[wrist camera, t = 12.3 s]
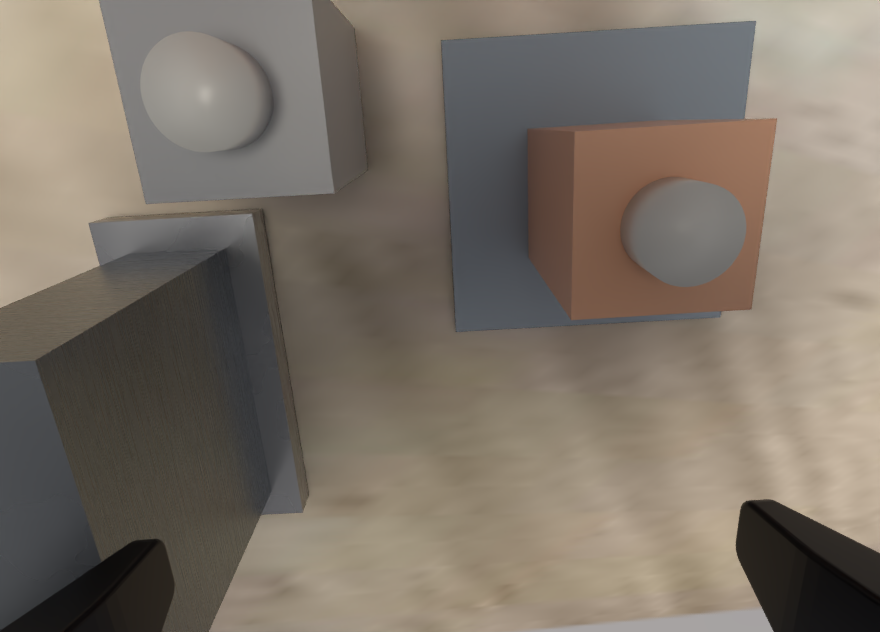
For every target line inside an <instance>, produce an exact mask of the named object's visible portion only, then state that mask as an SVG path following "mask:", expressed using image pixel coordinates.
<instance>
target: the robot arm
mask: <svg viewBox="0 0 880 632" xmlns="http://www.w3.org/2000/svg"><path fill="white" fill-rule="evenodd" d="M736 552H737V556H738V559H739V561H740V563H741V566H742V568H743V570H744V572H745V574H746V576H747V578H748V580H749V582H750V584H751V586H752V588H753V590H754V592H755V594H756V596H757V598H758V601H759V603H760V605H761V607H762V609H763V611H764V613H765V615H766V617H767V619H768V621H769V623H770V625H771V627H772V629H773V631H774V632H880V553H878V552H876V551H874V550H872V549H870V548H868V547H866V546H864V545H862V544H860V543H858V542H856V541H854V540H852V539H850V538H848V537H846V536H844V535H842V534H840V533H838V532H836V531H834V530H832V529H830V528H828V527H826V526H824V525H822V524H820V523H818V522H816V521H814V520H812V519H810V518H808V517H806V516H804V515H802V514H800V513H798V512H796V511H794V510H792V509H790V508H788V507H786V506H784V505H782V504H780V503H778V502H776V501H774V500H769V499H764V500H749V501H746V502H744V503H743V504H742V506H741V510H740V516H739V523H738V530H737V537H736ZM174 591H175V580H174V576H173V572H172V568H171V564H170V561H169V557H168V553H167V549H166V546H165V544H164V542H163V541H162V540H160V539H143V540H135V541H132V542H130V543H129V544H127V545H126V546H124V547H123V548H121V549H120V550H118V551H117V552H115V553H114V554H112V555H111V556H109V557H108V558H106V559H105V560H103V561H102V562H101V563H99V564H98V565H96V566H95V567H93V568H92V569H90V570H89V571H87V572H86V573H84V574H83V575H81V576H80V577H78V578H77V579H75V580H74V581H72V582H71V583H69V584H68V585H66V586H65V587H64V588H62V589H61V590H59V591H58V592H56V593H55V594H53V595H52V596H50V597H49V598H47V599H46V600H44V601H43V602H41V603H40V604H38V605H37V606H35V607H34V608H32V609H31V610H29V611H28V612H27V613H25V614H24V615H22V616H21V617H19V618H18V619H16V620H15V621H13V622H12V623H10V624H9V625H7V626H6V627H4V628H3V629H1V630H0V632H162V630H163V627H164V624H165V621H166V618H167V615H168V612H169V609H170V606H171V603H172V600H173V596H174Z"/></svg>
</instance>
